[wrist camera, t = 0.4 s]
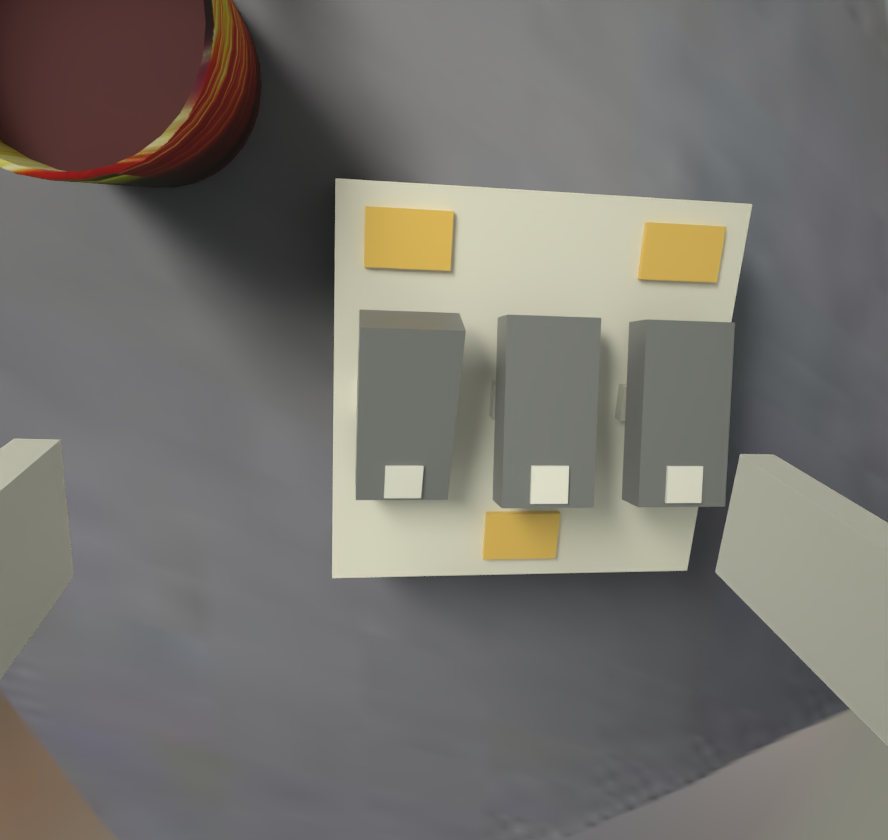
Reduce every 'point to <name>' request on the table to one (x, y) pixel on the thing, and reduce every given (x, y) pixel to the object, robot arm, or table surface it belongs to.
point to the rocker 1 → (407, 403)
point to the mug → (125, 89)
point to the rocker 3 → (677, 413)
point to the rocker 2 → (546, 411)
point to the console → (480, 304)
